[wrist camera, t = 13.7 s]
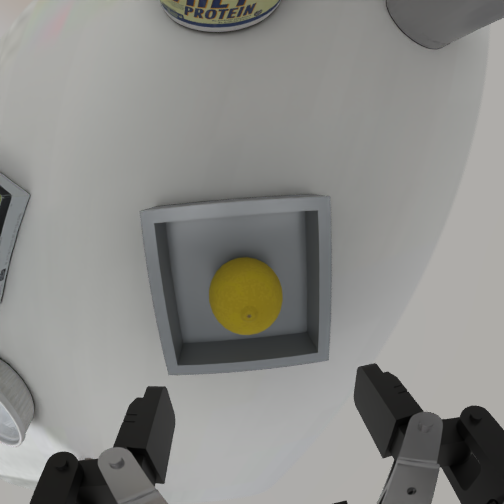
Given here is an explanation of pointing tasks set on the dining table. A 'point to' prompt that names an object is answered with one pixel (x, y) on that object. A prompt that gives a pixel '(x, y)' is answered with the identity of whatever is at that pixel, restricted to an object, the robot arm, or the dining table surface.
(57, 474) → the robot arm
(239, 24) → the supplement tub
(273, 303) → the lemon
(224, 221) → the bin
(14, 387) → the ramekin
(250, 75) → the dining table surface
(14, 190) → the tea box
